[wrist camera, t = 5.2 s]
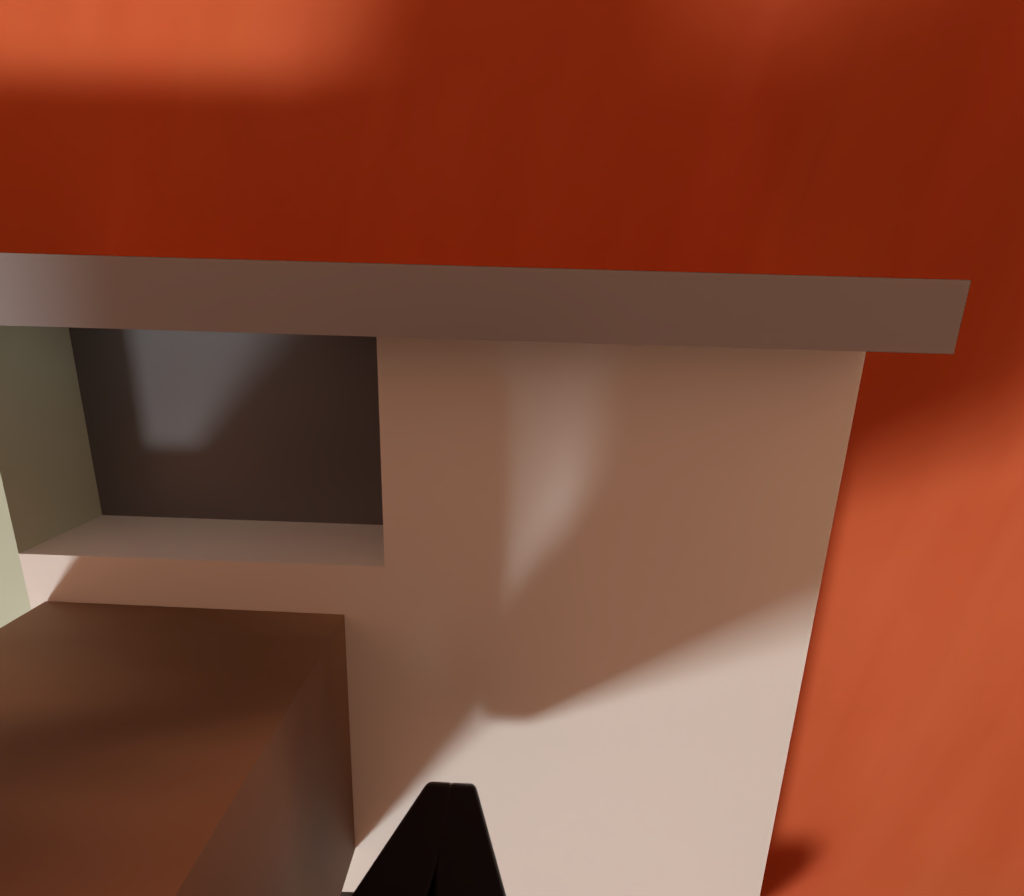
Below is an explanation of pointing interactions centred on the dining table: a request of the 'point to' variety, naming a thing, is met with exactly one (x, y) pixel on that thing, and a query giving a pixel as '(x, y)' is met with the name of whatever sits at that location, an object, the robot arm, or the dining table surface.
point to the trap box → (472, 517)
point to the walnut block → (174, 752)
